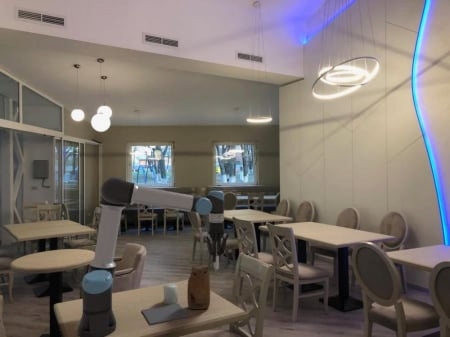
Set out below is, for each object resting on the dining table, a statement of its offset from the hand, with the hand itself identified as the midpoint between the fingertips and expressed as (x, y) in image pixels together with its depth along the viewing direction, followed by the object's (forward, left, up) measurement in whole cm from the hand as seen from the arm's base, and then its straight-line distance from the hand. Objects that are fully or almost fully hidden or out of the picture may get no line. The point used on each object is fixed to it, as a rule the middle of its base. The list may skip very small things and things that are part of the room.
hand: (216, 268), depth 170 cm
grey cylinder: (-20, +13, -18) cm, 29 cm away
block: (-10, 0, -18) cm, 20 cm away
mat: (-27, 0, -18) cm, 32 cm away
